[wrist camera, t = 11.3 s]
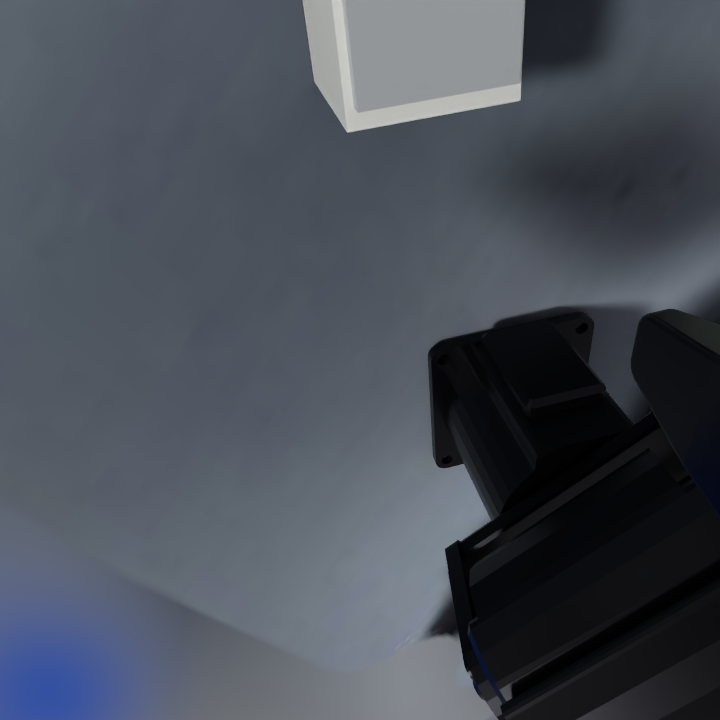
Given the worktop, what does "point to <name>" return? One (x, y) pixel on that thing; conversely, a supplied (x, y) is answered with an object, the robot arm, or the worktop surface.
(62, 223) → the worktop surface
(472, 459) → the robot arm
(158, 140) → the worktop surface
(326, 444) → the worktop surface
